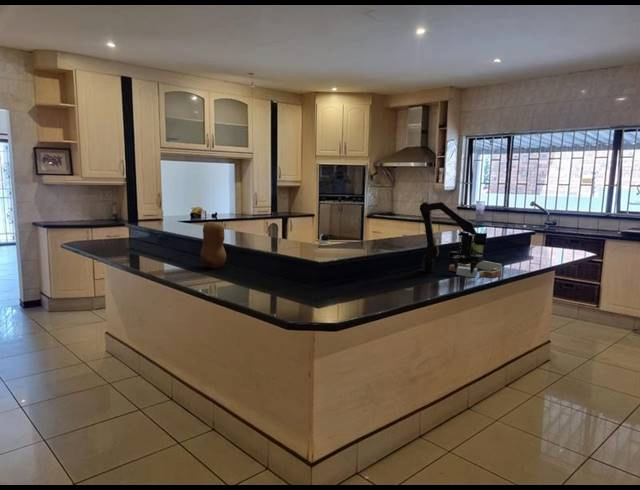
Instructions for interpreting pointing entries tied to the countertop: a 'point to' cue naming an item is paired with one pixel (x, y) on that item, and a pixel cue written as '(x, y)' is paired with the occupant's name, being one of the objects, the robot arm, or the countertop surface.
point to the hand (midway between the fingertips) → (463, 271)
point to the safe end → (488, 265)
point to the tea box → (477, 248)
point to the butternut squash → (213, 245)
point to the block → (466, 271)
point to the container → (324, 239)
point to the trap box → (493, 273)
